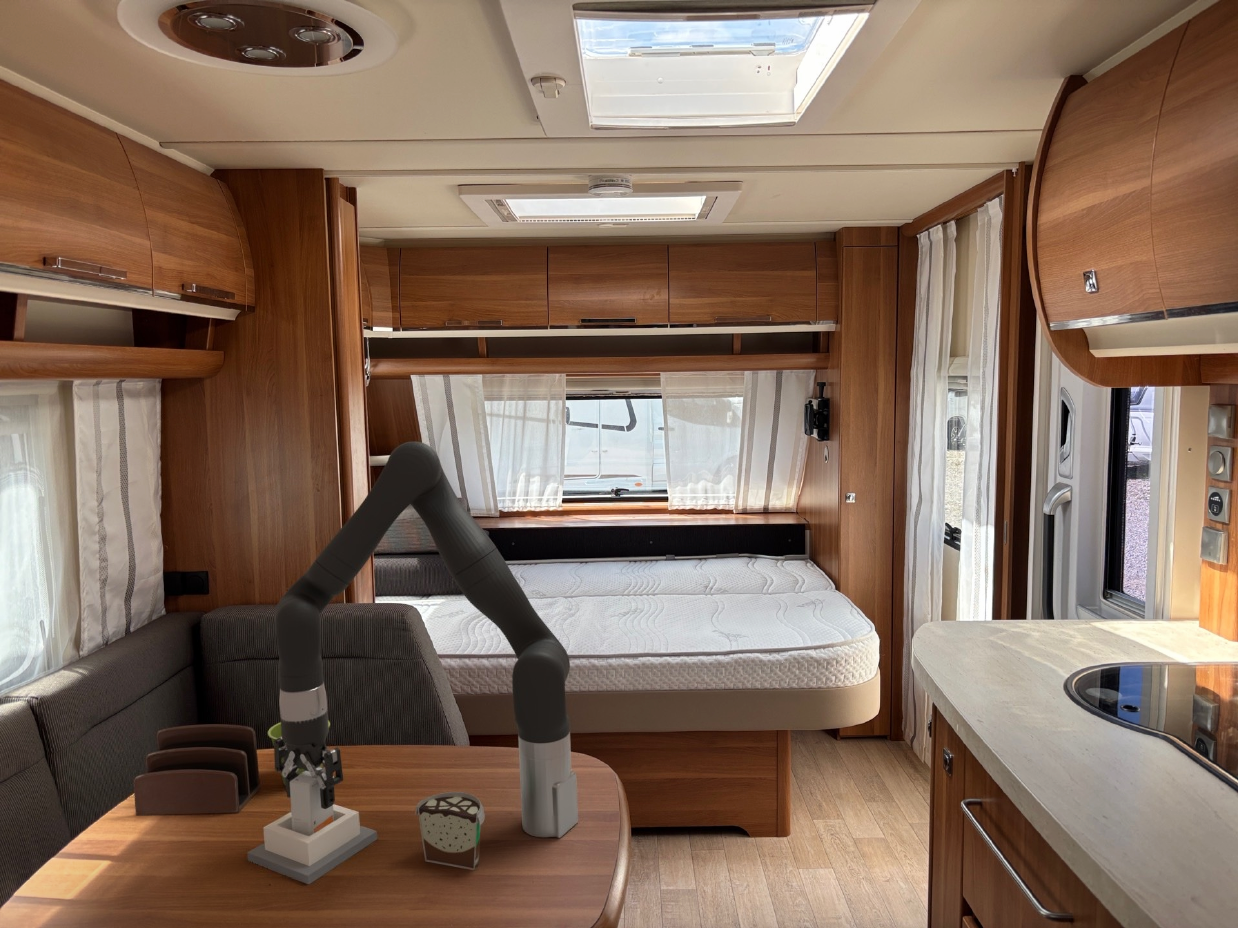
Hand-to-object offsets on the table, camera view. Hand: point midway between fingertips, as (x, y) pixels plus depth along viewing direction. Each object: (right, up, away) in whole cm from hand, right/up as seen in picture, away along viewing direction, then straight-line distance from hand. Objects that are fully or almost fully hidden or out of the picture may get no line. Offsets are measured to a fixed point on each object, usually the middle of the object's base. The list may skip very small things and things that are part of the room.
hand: (310, 801), depth 145 cm
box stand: (0, -9, +1) cm, 9 cm away
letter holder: (-29, -8, +19) cm, 36 cm away
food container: (+26, -9, -2) cm, 28 cm away
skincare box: (0, -7, +1) cm, 8 cm away
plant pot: (-11, -7, +27) cm, 30 cm away
